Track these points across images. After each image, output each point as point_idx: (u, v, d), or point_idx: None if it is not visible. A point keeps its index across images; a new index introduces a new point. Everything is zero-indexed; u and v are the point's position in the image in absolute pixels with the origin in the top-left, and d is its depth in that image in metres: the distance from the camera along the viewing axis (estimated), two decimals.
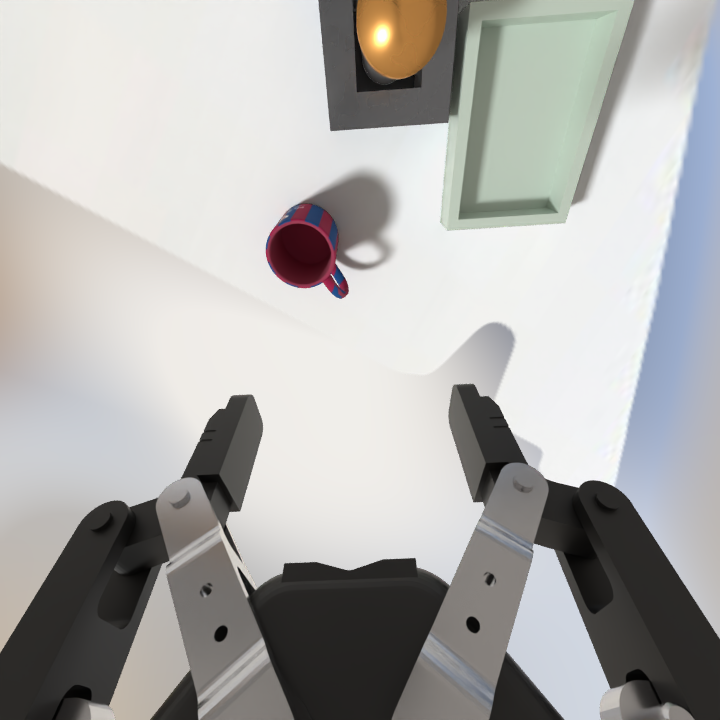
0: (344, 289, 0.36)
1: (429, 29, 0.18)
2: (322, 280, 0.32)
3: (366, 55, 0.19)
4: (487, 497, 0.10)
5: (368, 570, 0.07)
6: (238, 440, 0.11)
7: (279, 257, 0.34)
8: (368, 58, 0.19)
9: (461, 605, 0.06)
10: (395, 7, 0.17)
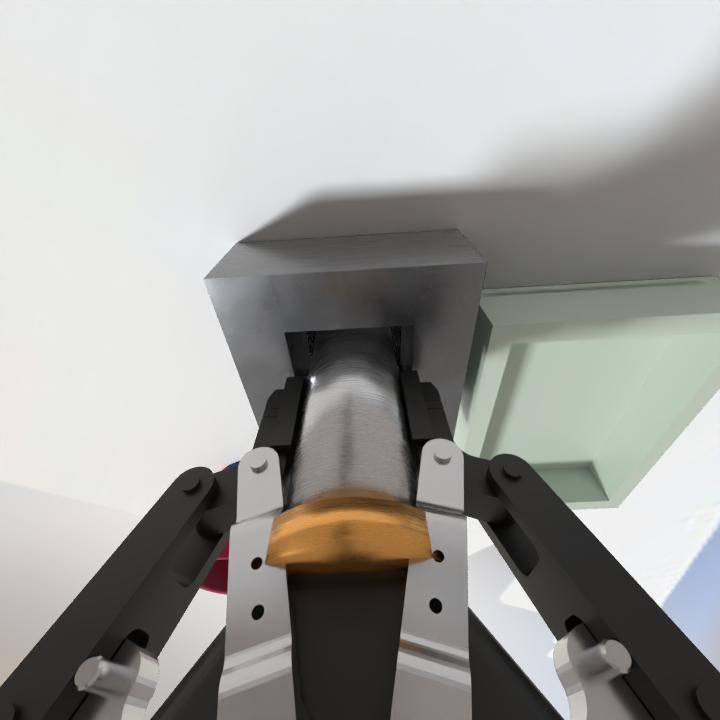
0: None
1: None
2: None
3: None
4: (417, 472, 0.11)
5: None
6: (299, 417, 0.12)
7: None
8: None
9: (461, 605, 0.06)
10: None
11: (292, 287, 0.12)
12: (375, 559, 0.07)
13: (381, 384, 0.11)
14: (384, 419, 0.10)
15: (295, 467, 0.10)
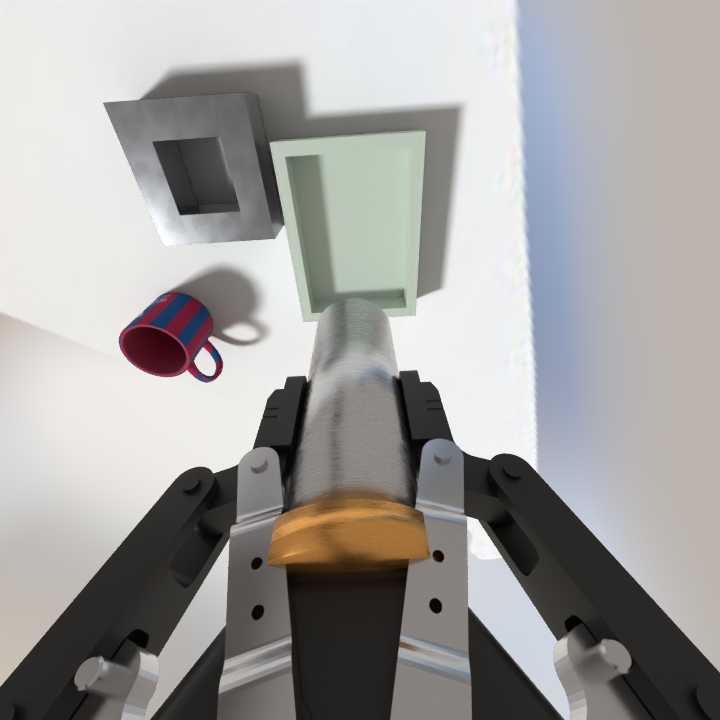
0: (217, 370, 0.37)
1: None
2: (182, 371, 0.34)
3: None
4: (417, 472, 0.11)
5: None
6: (299, 417, 0.12)
7: (145, 346, 0.35)
8: None
9: (461, 605, 0.06)
10: None
11: (149, 108, 0.23)
12: (375, 561, 0.07)
13: (381, 385, 0.11)
14: (384, 421, 0.10)
15: (295, 468, 0.10)
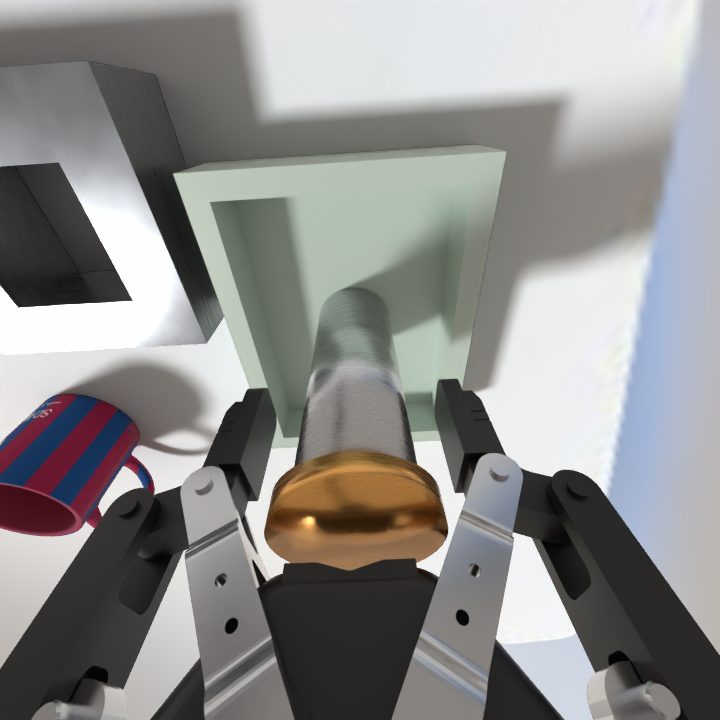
0: None
1: (413, 544, 0.09)
2: (74, 530, 0.21)
3: (293, 560, 0.10)
4: (467, 487, 0.10)
5: (368, 570, 0.07)
6: (256, 431, 0.11)
7: None
8: None
9: (461, 605, 0.06)
10: (343, 531, 0.09)
11: None
12: (376, 504, 0.08)
13: (381, 363, 0.12)
14: (383, 392, 0.11)
15: (302, 435, 0.10)
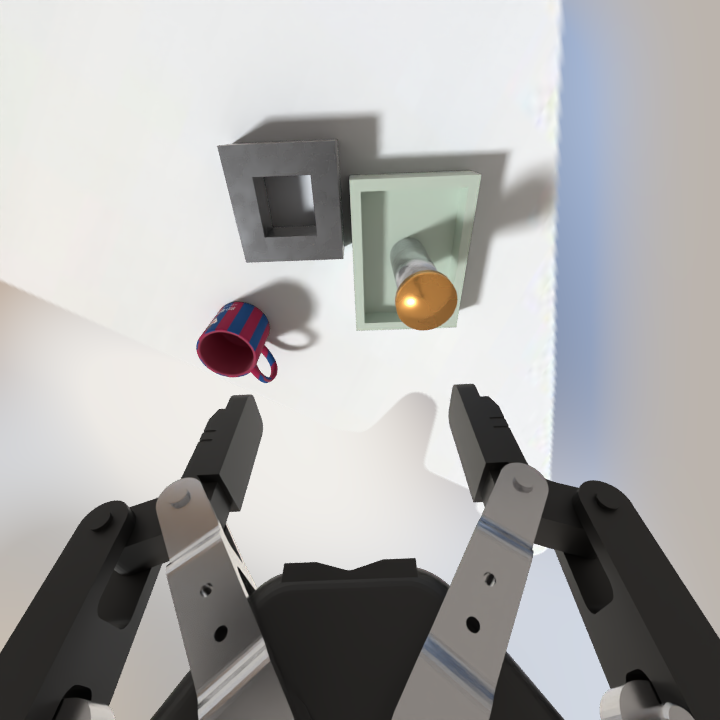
0: (273, 372, 0.41)
1: (445, 309, 0.27)
2: (247, 372, 0.38)
3: (401, 319, 0.27)
4: (487, 497, 0.10)
5: (368, 570, 0.07)
6: (238, 440, 0.11)
7: (213, 349, 0.39)
8: (402, 321, 0.27)
9: (461, 605, 0.06)
10: (422, 299, 0.26)
11: (255, 151, 0.27)
12: (436, 284, 0.25)
13: (429, 260, 0.30)
14: (432, 266, 0.28)
15: (402, 278, 0.28)
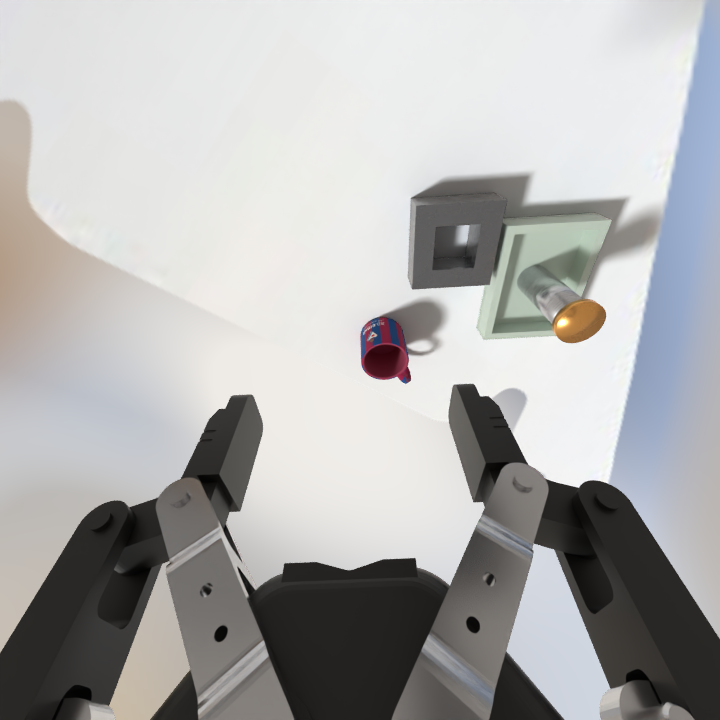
0: (407, 374, 0.50)
1: (593, 327, 0.35)
2: (397, 375, 0.47)
3: (557, 335, 0.36)
4: (487, 497, 0.10)
5: (368, 570, 0.07)
6: (238, 440, 0.11)
7: (365, 356, 0.48)
8: (558, 336, 0.36)
9: (461, 605, 0.06)
10: (578, 320, 0.34)
11: (443, 208, 0.36)
12: (592, 309, 0.34)
13: (568, 287, 0.38)
14: (576, 293, 0.37)
15: (555, 303, 0.36)
